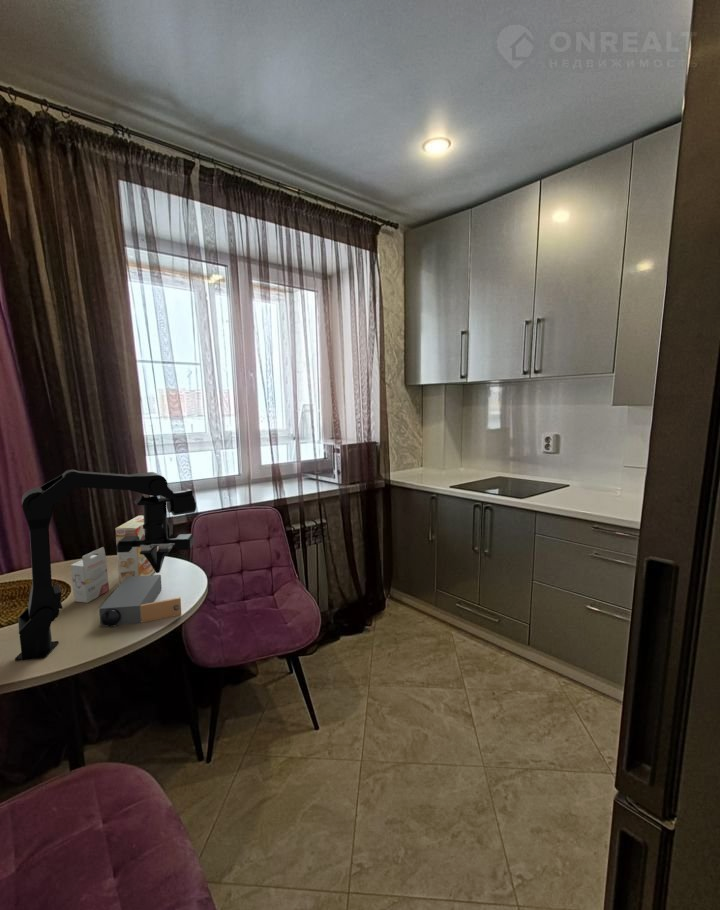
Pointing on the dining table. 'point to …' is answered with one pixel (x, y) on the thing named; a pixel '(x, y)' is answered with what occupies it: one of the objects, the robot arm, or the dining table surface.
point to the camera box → (129, 600)
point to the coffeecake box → (132, 551)
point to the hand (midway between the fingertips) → (158, 572)
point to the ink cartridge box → (90, 576)
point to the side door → (160, 609)
